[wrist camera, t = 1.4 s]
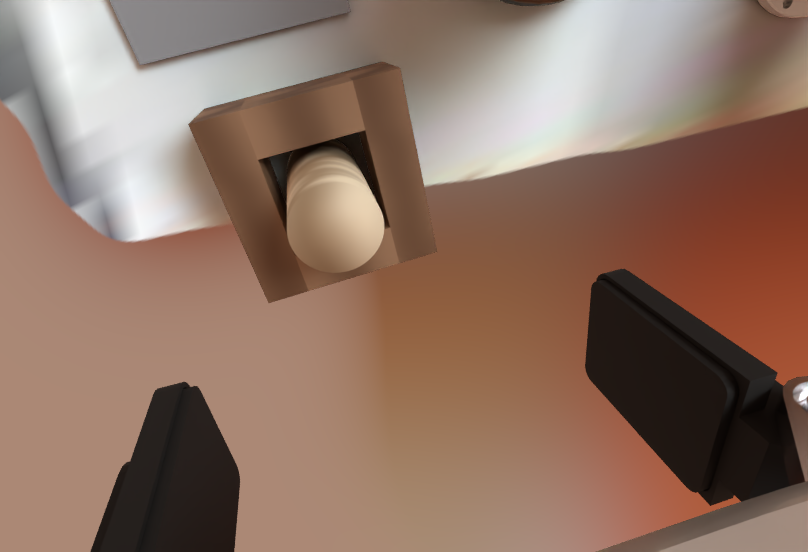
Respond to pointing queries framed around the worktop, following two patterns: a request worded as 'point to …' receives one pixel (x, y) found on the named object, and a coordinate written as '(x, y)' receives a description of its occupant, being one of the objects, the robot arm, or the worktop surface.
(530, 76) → the worktop surface
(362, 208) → the maple plug
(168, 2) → the slate mat
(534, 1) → the beer stein
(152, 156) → the worktop surface
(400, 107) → the walnut holder
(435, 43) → the worktop surface
